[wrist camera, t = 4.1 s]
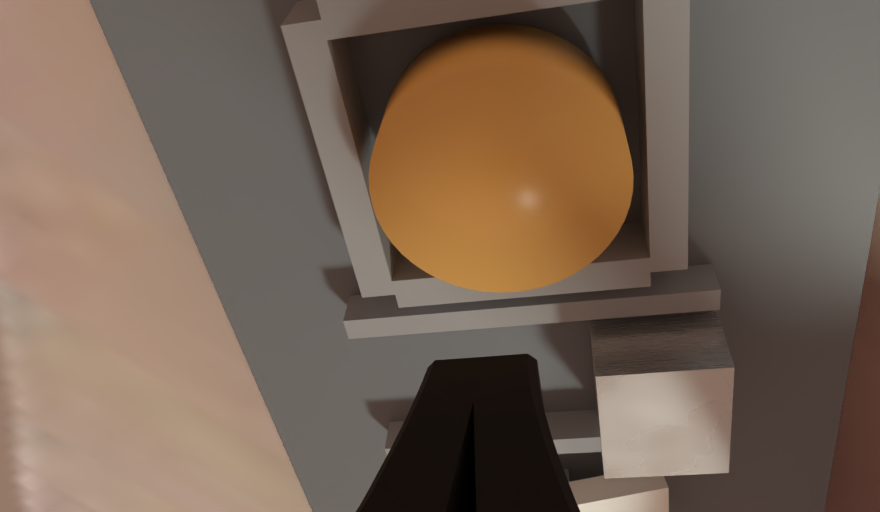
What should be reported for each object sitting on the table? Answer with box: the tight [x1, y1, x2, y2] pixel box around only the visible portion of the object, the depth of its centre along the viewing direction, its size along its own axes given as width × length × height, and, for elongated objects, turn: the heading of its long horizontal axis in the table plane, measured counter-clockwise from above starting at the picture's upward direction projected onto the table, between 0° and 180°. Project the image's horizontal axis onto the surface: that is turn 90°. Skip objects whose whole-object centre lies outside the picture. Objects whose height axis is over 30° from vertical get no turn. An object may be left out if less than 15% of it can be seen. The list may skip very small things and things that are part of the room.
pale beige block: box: [589, 310, 735, 479], centre depth 19 cm, size 3×4×2 cm
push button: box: [369, 24, 634, 293], centre depth 16 cm, size 5×5×2 cm
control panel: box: [90, 0, 880, 512], centre depth 21 cm, size 16×24×3 cm, turn 10°
